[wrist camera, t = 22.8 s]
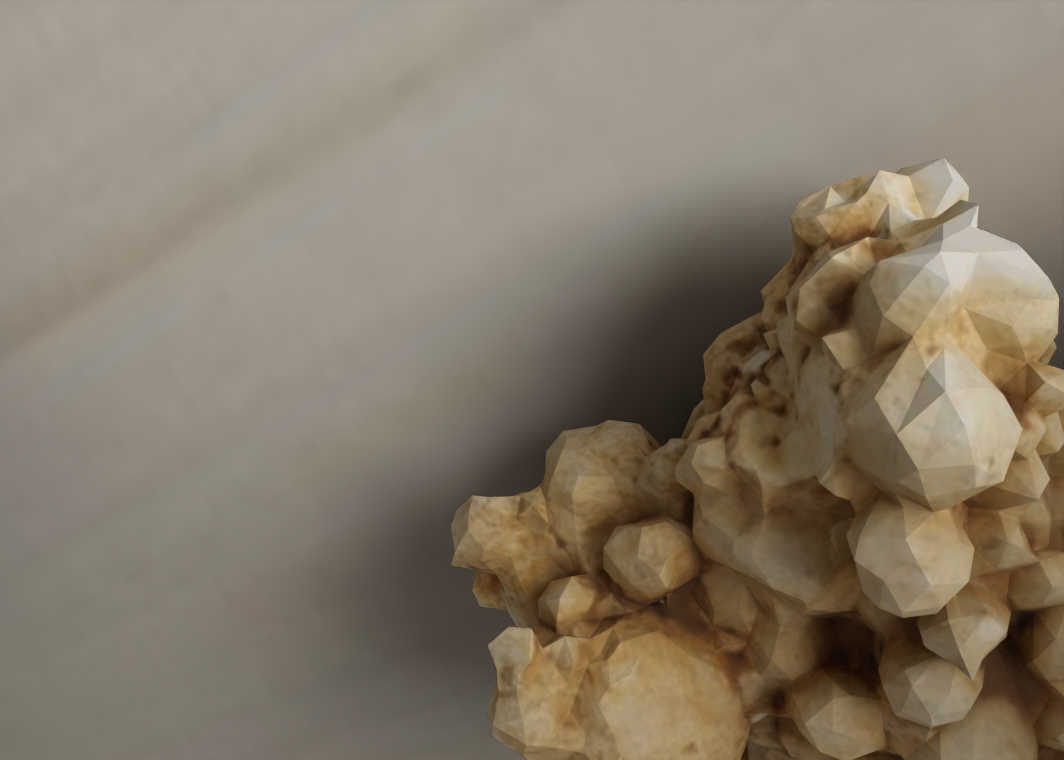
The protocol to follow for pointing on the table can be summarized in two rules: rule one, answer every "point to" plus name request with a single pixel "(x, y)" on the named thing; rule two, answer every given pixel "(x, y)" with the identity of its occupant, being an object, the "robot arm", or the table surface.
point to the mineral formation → (810, 519)
